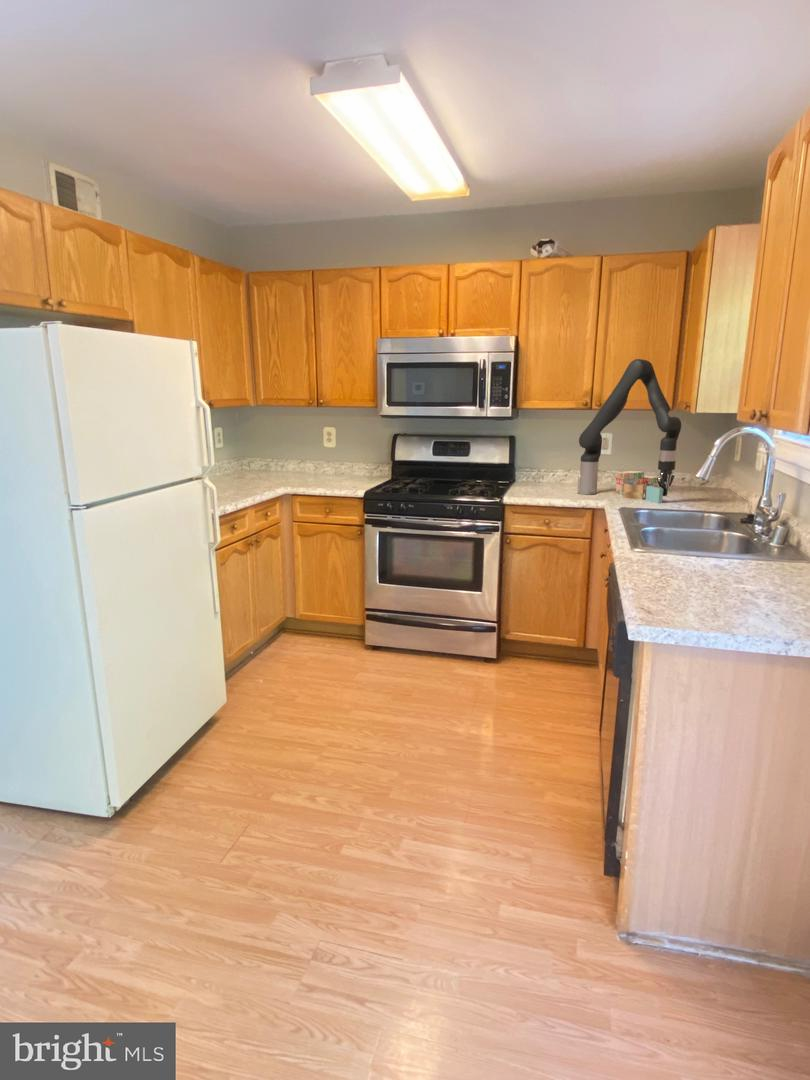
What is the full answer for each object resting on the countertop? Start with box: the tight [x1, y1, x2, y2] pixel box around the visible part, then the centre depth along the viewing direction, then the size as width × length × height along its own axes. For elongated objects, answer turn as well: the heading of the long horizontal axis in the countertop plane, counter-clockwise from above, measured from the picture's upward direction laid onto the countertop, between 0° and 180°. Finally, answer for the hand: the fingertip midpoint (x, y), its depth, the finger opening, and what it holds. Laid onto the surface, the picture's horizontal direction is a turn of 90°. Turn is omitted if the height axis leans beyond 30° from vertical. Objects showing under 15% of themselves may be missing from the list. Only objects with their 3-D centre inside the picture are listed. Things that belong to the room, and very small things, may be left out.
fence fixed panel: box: [622, 484, 649, 501], centre depth 298 cm, size 12×2×8 cm, turn 55°
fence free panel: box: [645, 486, 664, 504], centre depth 289 cm, size 10×2×7 cm, turn 13°
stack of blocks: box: [614, 470, 659, 496], centre depth 315 cm, size 21×6×12 cm, turn 105°
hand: (664, 495), depth 288 cm, fingers closed
